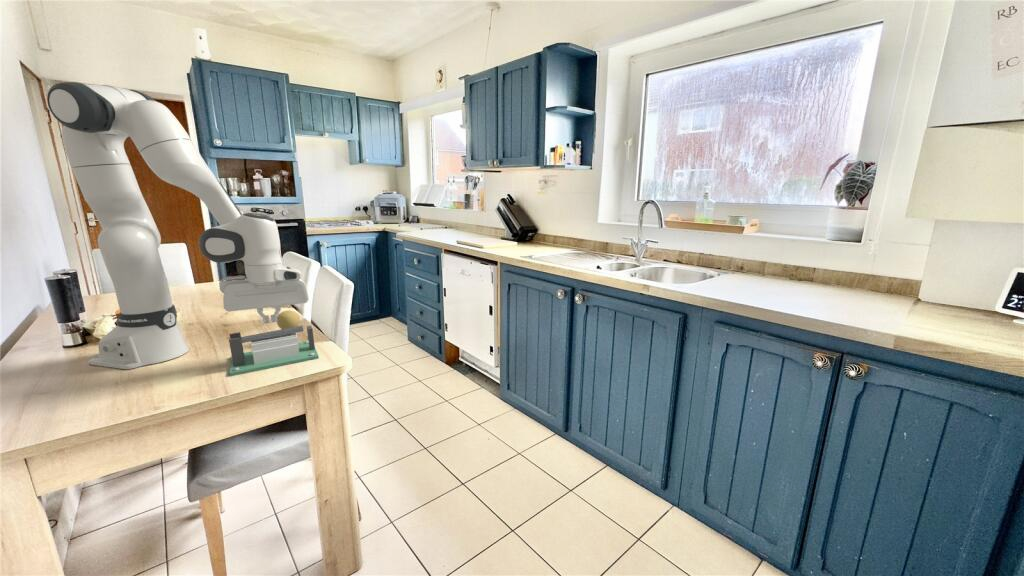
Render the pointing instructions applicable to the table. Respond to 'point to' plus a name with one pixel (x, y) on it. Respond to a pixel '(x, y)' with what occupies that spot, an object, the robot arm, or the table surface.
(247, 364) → the board
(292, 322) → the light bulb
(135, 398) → the table surface
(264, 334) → the strap
